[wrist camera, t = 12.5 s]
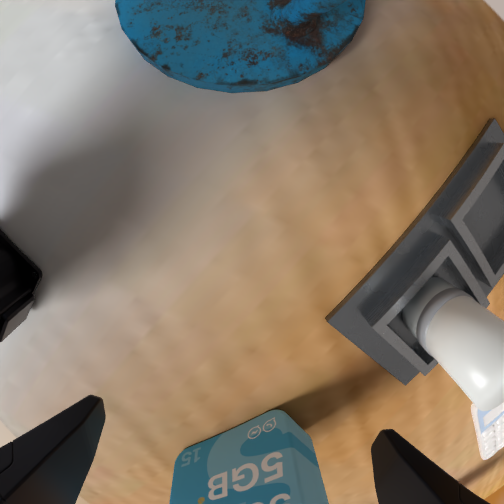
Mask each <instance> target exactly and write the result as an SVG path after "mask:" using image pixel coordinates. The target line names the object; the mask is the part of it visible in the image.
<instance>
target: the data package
mask: <svg viewBox="0 0 504 504" xmlns="http://www.w3.org/2000/svg"><path fill="white" fill-rule="evenodd" d="M170 504H329V503H328V499H327V495H326V491H325V488H324V484H323V480H322V477H321V473H320V469H319V465H318V462H317V458H316V454H315V451H314V447H313V443H312V440H311V438H310V436H309V435H308V434H307V433H306V432H305V431H304V430H303V429H302V428H301V427H300V426H299V425H298V424H297V423H296V422H295V421H294V420H293V419H292V418H291V417H290V416H289V415H288V414H287V413H285V412H284V411H282V410H271V411H268V412H266V413H264V414H262V415H260V416H258V417H256V418H254V419H252V420H250V421H248V422H246V423H244V424H242V425H239V426H237V427H235V428H233V429H231V430H229V431H226V432H224V433H222V434H219V435H217V436H215V437H213V438H210V439H208V440H205V441H203V442H201V443H198V444H196V445H193V446H191V447H188V448H186V449H185V450H183V451H182V452H181V453H180V454H179V456H178V457H177V459H176V461H175V466H174V473H173V481H172V488H171V496H170Z"/></svg>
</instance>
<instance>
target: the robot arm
mask: <svg viewBox="0 0 504 504" xmlns="http://www.w3.org/2000/svg"><path fill="white" fill-rule="evenodd" d="M34 272H35V273H36V275H37V277H36V276H35V274H34ZM41 277H42V273H41V270H40V269H39V268H38V267H37V266H36V265H35V264H34V263H33V262H32V261H31V260H29V259H28V258H27V257H26V256H25V255H24V254H23V253H22V252H21V251H20V250H19V249H18V248H17V247H16V246H15V245H14V243H13V242H12V241H11V240H10V239H9V238H8V237H7V236H6V235H5V234H4V233H3V232H2V231H1V230H0V342H2V341H3V340H4V339H5V338H6V337H7V336H8V335H9V334H10V333H11V332H12V331H13V330H15V329H16V328H17V327H18V326H19V325H20V324H21V323H22V322H23V321H24V320H25V319H26V317H27V315H28V313H29V311H30V309H31V306H32V304H33V302H34V300H35V297H34V295H33V294H34V292H35V290H36V288H37V286H38V284H39V282H40V280H41ZM104 423H105V410H104V403H103V399H102V398H101V397H97V396H94V395H88V396H87V397H85V398H84V399H82V400H80V401H79V402H77V403H75V404H74V405H72V406H70V407H69V408H67V409H66V410H64V411H62V412H61V413H59V414H57V415H56V416H54V417H52V418H51V419H49V420H47V421H46V422H44V423H42V424H40V425H39V426H37V427H35V428H34V429H32V430H30V431H29V432H27V433H25V434H23V435H22V436H20V437H18V438H17V439H15V440H13V442H10V443H8V444H6V445H4V446H2V447H1V448H0V504H75V503H76V500H77V498H78V495H79V493H80V491H81V488H82V486H83V483H84V481H85V479H86V476H87V474H88V471H89V469H90V467H91V464H92V462H93V459H94V456H95V453H96V450H97V446H98V443H99V439H100V436H101V432H102V429H103V426H104ZM371 455H372V463H373V472H374V482H375V488H376V493H377V497H378V502H379V504H490V503H488V502H487V501H485V500H483V499H482V498H480V497H479V496H477V495H476V494H474V493H473V492H471V491H470V490H469V489H467V488H466V487H465V486H463V485H462V484H461V483H459V482H458V481H457V480H455V479H454V478H453V477H452V476H450V475H449V474H448V473H446V472H445V471H444V470H443V469H441V468H440V467H439V466H438V465H436V464H435V463H434V462H433V461H431V460H430V459H429V458H428V457H426V456H425V455H424V454H423V453H421V452H420V451H419V450H418V449H416V448H415V447H414V446H413V445H411V444H410V443H409V442H408V441H407V440H405V439H404V438H403V437H402V436H400V435H399V434H398V433H397V432H396V431H394V430H393V429H386V430H381V431H380V433H379V434H378V436H377V438H376V439H375V441H374V442H373V444H372V447H371Z"/></svg>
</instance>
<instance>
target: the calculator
mask: <svg viewBox="0 0 504 504" xmlns="http://www.w3.org/2000/svg"><path fill="white" fill-rule="evenodd" d="M471 413H472V417H473V421H474V426H475V430H476V435H477V440H478V445H479V450H480V455H481V458H482V459H483V460H487V459H489V458H490V457H492V456H493V455H494V454H495V453H496V452H497V451H498V450H500V449H501V448H502V447H504V402H503V403H502V404H501V405H499V406H498V407H496V408H494V409H492V410H489V411H481V410H479V409H478V408H477V407H476V405H475V404H474V403H472V405H471Z"/></svg>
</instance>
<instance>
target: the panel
mask: <svg viewBox="0 0 504 504" xmlns="http://www.w3.org/2000/svg"><path fill="white" fill-rule="evenodd" d="M503 274H504V133H503V131H502V130H501V128H500V126H499V125H498V123H497V121H496V120H495V118H493V119H489V121H488V123H487V124H486V126H485V127H484V128H483V130H482V131H481V133H480V134H479V136H478V137H477V139H476V140H475V142H474V143H473V144H472V146H471V147H470V149H469V150H468V151H467V153H466V154H465V156H464V157H463V158H462V160H461V161H460V163H459V164H458V165H457V167H456V168H455V169H454V171H453V172H452V173H451V175H450V176H449V177H448V179H447V180H446V181H445V183H444V184H443V185H442V186H441V188H440V189H439V190H438V192H437V193H436V194H435V195H434V197H433V198H432V199H431V200H430V202H429V203H428V204H427V205H426V207H425V208H424V209H423V210H422V212H421V213H420V214H419V215H418V216H417V218H416V219H415V220H414V221H413V223H412V224H411V225H410V226H409V227H408V229H407V230H406V231H405V232H404V233H403V234H402V236H401V237H400V238H399V239H398V240H397V241H396V243H395V244H394V245H393V246H392V247H391V248H390V249H389V251H388V252H387V253H386V254H385V255H384V256H383V257H382V258H381V260H380V261H379V262H378V263H377V264H376V265H375V266H374V267H373V268H372V270H371V271H370V272H369V273H368V274H367V275H366V276H365V277H364V278H363V279H362V280H361V281H360V283H359V284H358V285H357V286H356V287H355V288H354V289H353V290H352V291H351V292H350V293H349V294H348V295H347V296H346V297H345V298H344V299H343V300H342V301H341V302H340V303H339V304H338V306H337V307H336V308H335V309H334V310H333V311H332V312H331V313H330V314H329V315H328V316H327V317H326V318H325V319H326V321H327V322H328V323H329V324H330V325H332V326H333V327H334V328H335V329H336V330H338V331H339V332H340V333H341V334H343V335H344V336H345V337H346V338H348V339H349V340H350V341H351V342H352V343H354V344H355V345H356V346H357V347H359V348H360V349H361V350H362V351H364V352H365V353H366V354H367V355H368V356H370V357H371V358H372V359H373V360H375V361H376V362H377V363H378V364H380V365H381V366H382V367H383V368H385V369H386V370H387V371H388V372H389V373H391V374H392V375H393V376H394V377H396V378H397V379H398V380H399V381H401V382H402V383H403V384H404V385H406V384H408V383H409V382H410V381H411V380H412V379H413V378H414V377H415V376H416V375H417V374H418V373H419V372H421V373H422V374H423V375H424V376H426V375H427V374H428V373H429V372H430V371H431V370H432V369H433V368H434V367H435V366H436V365H437V364H438V362H437V360H436V359H435V358H434V357H432V356H431V355H429V354H428V353H427V352H426V350H425V349H424V348H423V347H422V346H421V345H420V343H419V342H418V340H417V338H416V337H415V336H414V335H413V334H412V333H411V332H410V331H409V330H408V329H407V327H406V326H405V324H404V322H403V308H404V307H405V305H406V304H407V303H408V302H409V301H410V300H411V299H412V298H413V297H414V296H415V294H416V293H417V292H418V291H419V290H420V289H421V288H422V286H423V285H424V284H425V283H426V282H427V281H428V280H429V278H432V277H439V278H442V279H444V280H445V281H447V282H448V283H450V284H451V285H453V286H454V287H456V288H459V289H461V290H463V291H464V292H466V293H467V294H469V295H470V296H472V297H473V298H474V299H475V301H476V302H478V303H479V304H481V305H482V306H483V307H485V308H487V307H488V305H489V304H490V303H489V301H488V299H487V296H488V294H489V293H490V292H491V290H492V289H493V288H494V286H495V285H496V284H497V282H498V281H499V280H500V278H501V277H502V275H503Z"/></svg>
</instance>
